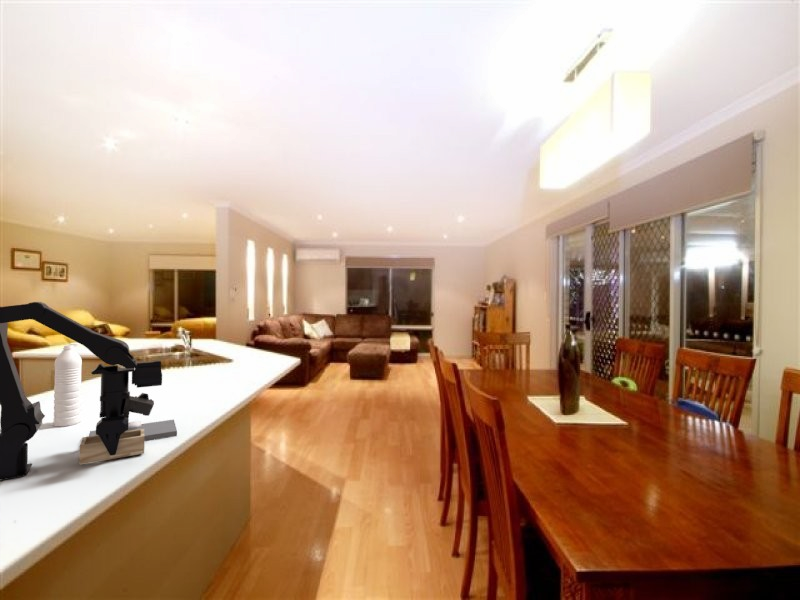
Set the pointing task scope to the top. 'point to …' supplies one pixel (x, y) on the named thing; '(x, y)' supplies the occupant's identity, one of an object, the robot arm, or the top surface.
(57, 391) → the water bottle
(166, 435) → the grey plate with ball
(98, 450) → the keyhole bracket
